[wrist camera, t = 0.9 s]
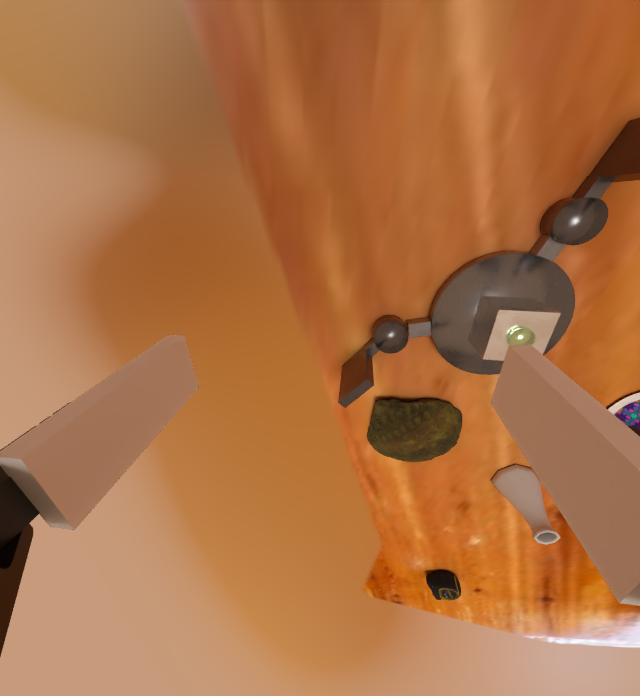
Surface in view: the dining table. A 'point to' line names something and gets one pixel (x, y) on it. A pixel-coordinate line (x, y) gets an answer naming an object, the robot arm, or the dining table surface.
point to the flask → (526, 499)
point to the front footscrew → (359, 367)
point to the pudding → (628, 410)
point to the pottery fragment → (414, 429)
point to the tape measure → (444, 585)
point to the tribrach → (524, 277)
